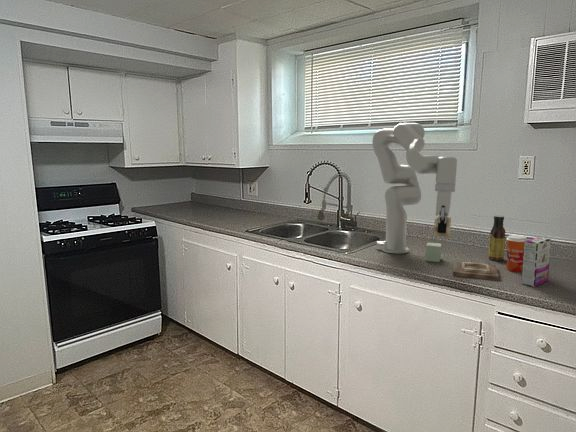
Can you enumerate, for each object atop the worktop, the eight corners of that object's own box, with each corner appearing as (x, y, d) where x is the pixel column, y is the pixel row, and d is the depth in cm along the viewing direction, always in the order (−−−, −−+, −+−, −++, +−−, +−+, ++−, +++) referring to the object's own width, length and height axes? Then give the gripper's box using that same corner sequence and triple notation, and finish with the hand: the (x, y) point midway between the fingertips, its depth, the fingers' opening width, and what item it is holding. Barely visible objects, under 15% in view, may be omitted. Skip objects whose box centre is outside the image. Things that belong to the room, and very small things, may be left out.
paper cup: (501, 270, 171) (503, 236, 168) (507, 266, 176) (510, 233, 174) (522, 274, 165) (525, 239, 163) (528, 270, 170) (531, 236, 168)
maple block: (433, 235, 171) (434, 218, 169) (434, 232, 176) (435, 216, 175) (449, 237, 168) (450, 219, 167) (449, 233, 174) (451, 217, 172)
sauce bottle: (490, 256, 191) (493, 214, 188) (505, 259, 187) (508, 215, 184) (486, 259, 186) (489, 216, 183) (501, 262, 182) (505, 217, 179)
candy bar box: (534, 278, 160) (538, 236, 158) (548, 281, 156) (552, 238, 154) (519, 283, 154) (523, 240, 151) (534, 287, 150) (538, 242, 147)
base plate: (453, 275, 164) (453, 269, 163) (454, 265, 178) (454, 259, 178) (498, 280, 158) (499, 273, 157) (495, 268, 172) (496, 263, 172)
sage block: (425, 260, 186) (426, 245, 185) (426, 257, 191) (427, 242, 190) (439, 262, 183) (440, 246, 182) (440, 258, 189) (441, 243, 188)
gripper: (436, 185, 178) (433, 226, 181) (433, 189, 162) (430, 234, 165) (455, 185, 175) (452, 227, 178) (454, 190, 159) (451, 236, 163)
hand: (442, 230), depth 172 cm, fingers closed on maple block, 5 cm apart
